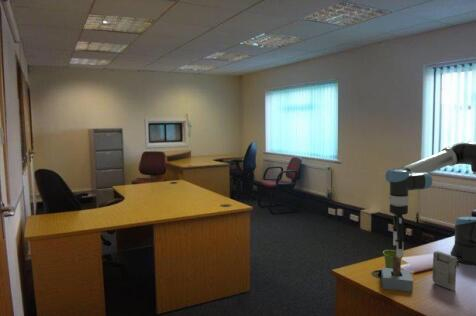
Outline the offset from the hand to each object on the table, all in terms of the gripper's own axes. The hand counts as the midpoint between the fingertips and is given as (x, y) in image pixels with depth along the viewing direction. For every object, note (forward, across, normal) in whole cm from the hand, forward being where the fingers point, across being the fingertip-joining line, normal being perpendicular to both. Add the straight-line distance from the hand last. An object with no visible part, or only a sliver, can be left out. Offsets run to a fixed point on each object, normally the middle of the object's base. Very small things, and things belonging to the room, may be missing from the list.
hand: (398, 250), depth 165 cm
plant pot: (+16, -17, -1) cm, 23 cm away
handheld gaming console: (+17, -3, +19) cm, 26 cm away
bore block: (+16, 0, -1) cm, 16 cm away
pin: (+15, 0, -1) cm, 15 cm away
